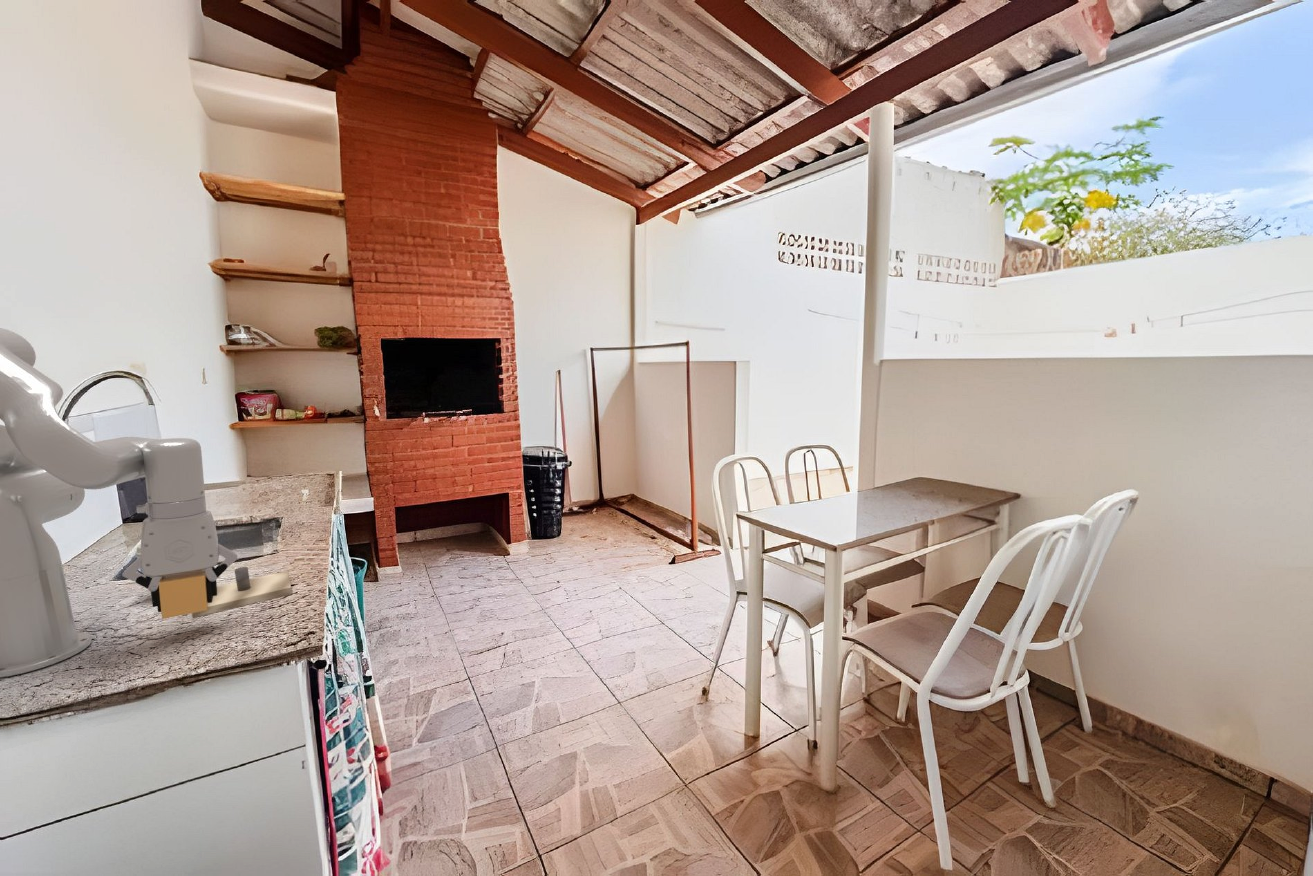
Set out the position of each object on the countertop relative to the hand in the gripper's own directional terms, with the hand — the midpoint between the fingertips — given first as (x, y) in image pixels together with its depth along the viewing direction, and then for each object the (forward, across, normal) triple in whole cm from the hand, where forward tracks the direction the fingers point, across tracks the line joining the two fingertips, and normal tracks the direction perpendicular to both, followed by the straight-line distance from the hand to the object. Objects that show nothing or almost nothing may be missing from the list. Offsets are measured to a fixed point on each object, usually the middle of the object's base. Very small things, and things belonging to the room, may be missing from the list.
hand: (186, 603), depth 95 cm
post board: (+6, +8, +14) cm, 17 cm away
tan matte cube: (+1, 0, 0) cm, 1 cm away
